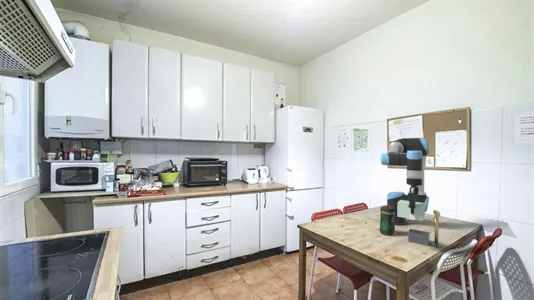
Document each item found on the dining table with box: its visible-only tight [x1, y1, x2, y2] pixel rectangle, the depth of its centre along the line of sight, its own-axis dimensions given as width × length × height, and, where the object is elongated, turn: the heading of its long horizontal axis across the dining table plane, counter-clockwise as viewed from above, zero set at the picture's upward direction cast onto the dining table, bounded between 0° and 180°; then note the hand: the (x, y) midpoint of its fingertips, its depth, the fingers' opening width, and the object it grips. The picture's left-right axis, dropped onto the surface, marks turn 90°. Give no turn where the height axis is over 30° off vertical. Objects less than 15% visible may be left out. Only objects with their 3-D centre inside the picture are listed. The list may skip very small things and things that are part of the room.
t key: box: [432, 209, 441, 245], centre depth 133 cm, size 8×2×19 cm, turn 154°
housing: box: [407, 228, 442, 249], centre depth 136 cm, size 16×7×6 cm, turn 50°
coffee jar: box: [379, 204, 396, 236], centre depth 152 cm, size 10×8×19 cm
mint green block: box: [397, 200, 426, 221], centre depth 130 cm, size 12×9×8 cm
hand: (413, 217), depth 129 cm, fingers closed on mint green block, 9 cm apart
